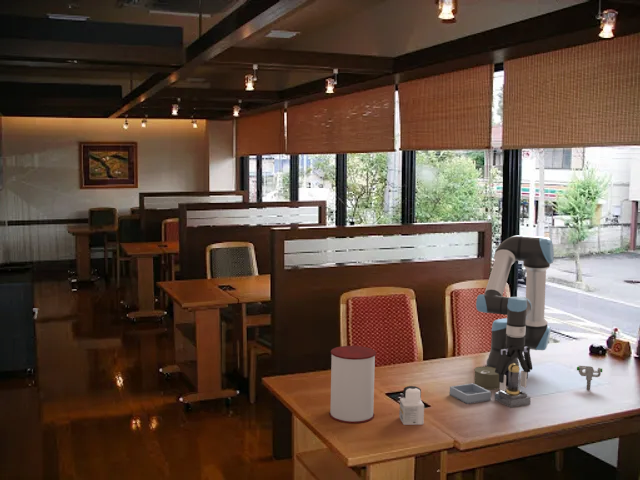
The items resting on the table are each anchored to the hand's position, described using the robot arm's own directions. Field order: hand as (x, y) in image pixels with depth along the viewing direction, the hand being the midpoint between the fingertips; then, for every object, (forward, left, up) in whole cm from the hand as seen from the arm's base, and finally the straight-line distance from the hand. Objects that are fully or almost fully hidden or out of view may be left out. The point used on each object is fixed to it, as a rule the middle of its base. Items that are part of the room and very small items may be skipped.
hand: (512, 388), depth 280 cm
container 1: (-12, -68, -6) cm, 69 cm away
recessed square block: (0, 0, -6) cm, 6 cm away
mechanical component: (0, +42, -6) cm, 42 cm away
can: (-21, +4, -6) cm, 22 cm away
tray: (-11, -13, -6) cm, 18 cm away
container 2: (+2, -50, -6) cm, 50 cm away
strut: (0, 0, -3) cm, 3 cm away
